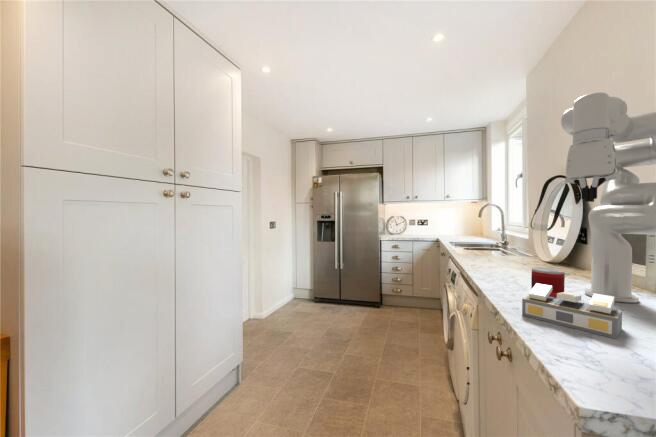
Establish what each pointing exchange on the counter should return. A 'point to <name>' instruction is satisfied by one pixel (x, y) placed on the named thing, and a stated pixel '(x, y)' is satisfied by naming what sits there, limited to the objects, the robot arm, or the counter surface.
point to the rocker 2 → (569, 297)
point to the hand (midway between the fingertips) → (589, 201)
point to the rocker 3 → (601, 303)
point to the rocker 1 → (540, 292)
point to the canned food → (549, 279)
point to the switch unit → (574, 315)
